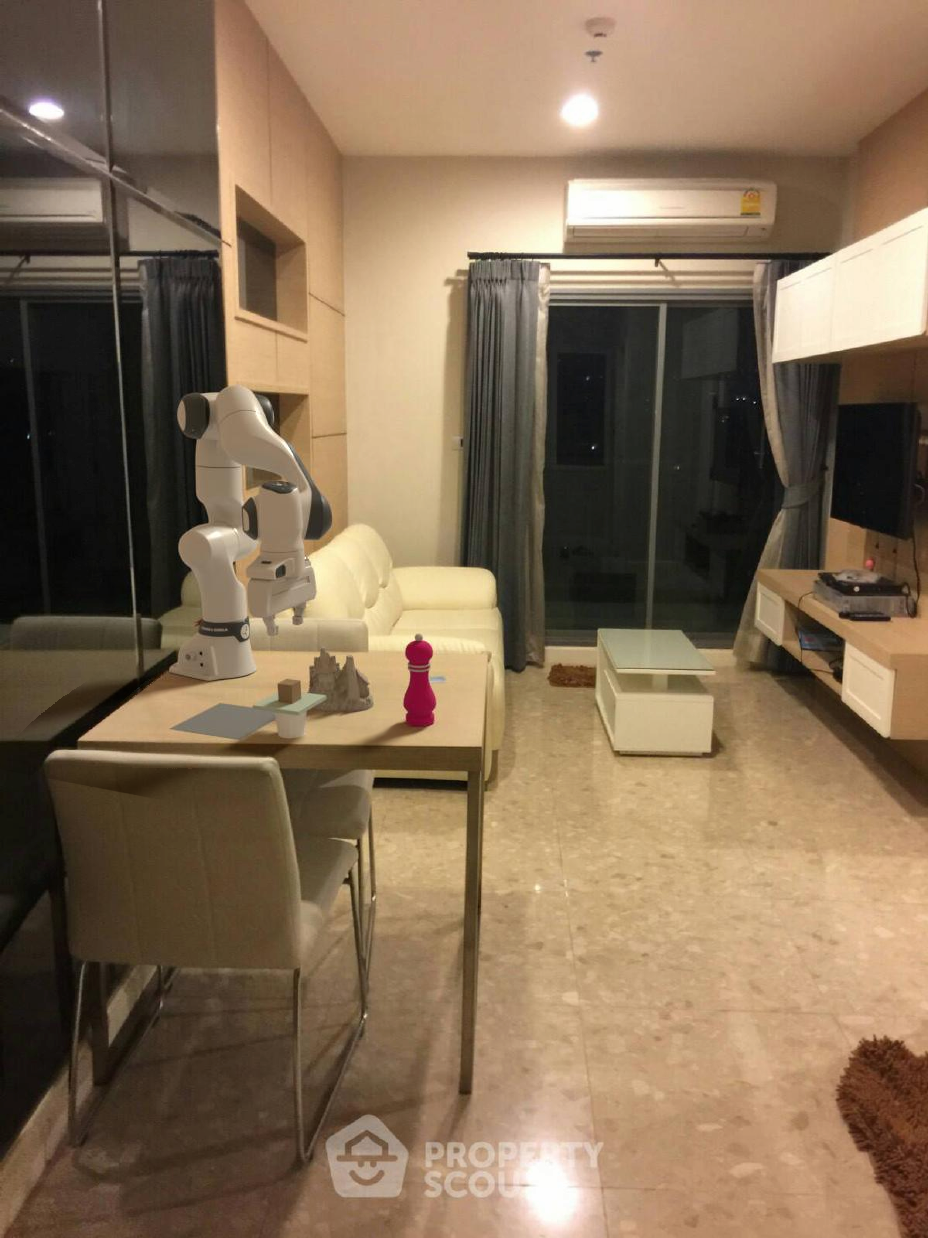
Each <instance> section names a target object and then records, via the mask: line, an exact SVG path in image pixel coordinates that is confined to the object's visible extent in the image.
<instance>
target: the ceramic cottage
mask: <svg viewBox="0 0 928 1238" xmlns="http://www.w3.org/2000/svg"><path fill="white" fill-rule="evenodd" d="M336 657H337V656H336V655H335V654H334V655H331V654H330V652H329V651H326V647H325V646H321V647H320V652H319V656H314V657H313V664H312V665H309V666H308V667H309V668H308V669H309V671H308V672H309V682H308V683H309V685H308V686H309V688H308V690H307V692H306V693H312V694H319V695H326V698H327V699H326V700H324V701H322V702H321V703H319V704H317V705H316V706H314V707H312V708H311V709H313V710H316V711H317V710H318V711H326V712H335V711H343V713H348V712H349V713H351V712H361V711H367V710H370V709H372V708H373V707H374V705H375V703H374V702H375V701H374V699H373V695H372V694H371V693H370V688H369V685H370V682H369V678H368V677H367V676H366V675H365V674H364V673H363V672H361V670H360V669H359V668H358V667H356V665H355V660H354V655H352V654H347V655H346V656H345V662H344V664H343V665H342V668H341V667H340V662H337V661H336V660H337V659H336Z"/></svg>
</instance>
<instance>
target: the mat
mask: <svg viewBox="0 0 928 1238" xmlns="http://www.w3.org/2000/svg"><path fill="white" fill-rule="evenodd" d="M274 721H276V717H275V712H270V711H264V710H257V709H253V706H245V705H238V704H237V705H236V704H232V703H231V704H229V703H224V702H223V703H222V702H219V703H218V704H216V705H213V706H211V707H210V708H208V709H206V710H204V711H201V712H199V713H198V714H195V715H194V716H191V717H189V718H187V719H186V720H183V721H182V722H179V723H178V724H176V725H174V726H171V727H170V728H169V730H175V731H180V732H181V731H182V732H185V733H186V732H187V733H193V734H201V735H206V736H211V737H213V736H214V737H218V738H226V739H232V740H239V741H241V740H244V738H246V737H248V736H249V735H251V734H253V733H255V732H256V731H257V732H258V730H259V729H261V728H263V727H266V726H268V724H270V723H272V722H274Z"/></svg>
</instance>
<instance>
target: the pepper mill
mask: <svg viewBox="0 0 928 1238" xmlns="http://www.w3.org/2000/svg"><path fill="white" fill-rule="evenodd" d="M404 656H405V658H406V660H408V662H407V670H408V671H409V681H408V686H407V689H406V691H405V693H404V696H403V703H402V704H403V705H402V706H403V708H404V710H406V712H407V713H406V714H405V723H406V724H407V725H408V726H411V727H416V728H417V727H418V728H419V727H421V728H422V727H423V728H425V727H428V726H431V725H433V724H434V723H435V713H434V712H433V711H435V709H436V707H437V698H436V695H435V692H434V691H433V688H432V686H431V682H430V675H429V672H430V670H431V669H432V667H431V664H432V663H431V661H430V660H432V658H433V656H434V651H433V646H432V645H431V644H430V643H429V642H428V641H426V640H424V636H423V635H422V634H421V633H415V635H414V640H412V641H410V642H409V643H408V644H407V645H406V647H405V651H404Z"/></svg>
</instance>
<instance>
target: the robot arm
mask: <svg viewBox="0 0 928 1238" xmlns="http://www.w3.org/2000/svg"><path fill="white" fill-rule="evenodd" d="M176 412H177V415H176V416H177V421H178V425H179V428H180V430H181V433H183V434H184V435H185V436H186V437H188V438H191V439H195V440H196V445H195V492H196V497H197V499H198V500H199V502H201V503H202V504H203V506H204V508H205V510H206V513H207V516H208V517H207V518H208V523H204V524H198V525H197V526H193V527H192V528H191V529H189V530H188V531H186V532H185V533H183V535H181V537H180V538H179V542H178V553H179V554H178V555H179V556H180V559H181V560H182V562H183V563H184V564H185V565H186V566H187V567H189V568H190V569H191V571H192V572H193V574H194V577H195V578H196V582H197V585H198V588H199V592H200V599H201V600H200V602H201V609H202V617H201V618H200V619H199V620H197V621H195V622H194V624H195V625H194V627H198V629H197V632H196V633H195V634H194V635H193V636H192V637H191V638H189V639H188V640H187V641H186V642H184V643H183V644H182V645H181V646H180V648H179V651H178V656H177V662H175V663H174V664H172V665H170V667H169V673H172V674H176V675H179V676H184V677H189V678H193V679H197V680H201V681H202V680H203V681H206V682H208V681H209V682H210V681H216V680H222V679H232V678H233V679H234V678H239V677H243V676H244V677H245V676H247V675H251V674H253V673H254V672H256V671H257V669H258V667H257V665H256V662H255V658H254V655H253V650H252V646H251V640H250V635H251V626H250V625H251V624H250V616H248V612H249V614H250V615H251V617H253V618H258V619H262V622H263V623H264V625H265V627H266V634H267V636H268V637H274V636H277V635H278V634H279V625H277V624H276V623H275V620H276V615H278V614H279V613H282V612H285V611H287V610H289V609H290V610H291V609H292V608H295V610H294V614H293V616H292V618H291V619H292V625H293V626H301V625H302V624H304V615H305V613H306V609H307V602H310V601H313V600H315V598H316V596H317V592H318V591H317V582H316V574H315V570H314V568H313V566H312V561H311V560H310V559H309V558H308V557H307V556H305V545H304V542H303V540H306V541H307V540H308V541H319V540H320V539H321V538H323V537H324V536H325V534H327V532H328V531H330V529H331V528H332V524H333V513H332V508H331V505H330V503H329V501H328V499H327V498H326V497H325V496H324V495H323V493H322V492H321V491H320V490H319V488H318V487H317V485H316V484H315V482H314V481H313V479H312V476H311V475H310V473H309V471H308V469H307V467H306V466H305V464H304V463H303V461H302V459H301V458H300V456H299V454H298V452H297V450H295V448H294V446H293V445H292V444H291V442H289V441H287V440H286V439H284V438H282V437H281V436H280V435H279V434H277V433H276V432H275V431H274V430H273V427H274V426H273V425H274V423H275V422H274V421H275V416H274V414H275V413H274V410H273V405H272V403H271V401H270V400H269V399H268V398H267V396H264V395H261V394H258V393H254V392H253V391H252V390H251V389H249V388H248V387H245V386H244V385H239V384H237V385H236V384H235V385H230V386H227V387H225V388H223V389H221V390H220V391H219V392H205V393H200V392H191V393H188V394H184V395H183V397H182V398H181V399H180V401H179V404H178V408H177V411H176ZM243 467H246V468H250V469H251V468H253V469H257V470H258V469H259V470H263V471H267V472H271V473H274V474H276V475H278V476H280V477H281V478H283V479H284V480H270V481H265V482H264V483H263V482H262V484H261V485H260V486H259V489H258V494H256V495H254V496H250V497H249V498H248V499H247V500H246V501H244V493H243ZM259 543H260V545H259ZM258 546H259V555H257V557H256V558H255V559H254V560H253V561H252V562H251V563H250V564H249V565H248V566H247V567H246V568H245V576H246V578H248V579H249V580H248V583H247V587H245V585H244V584H243V583H242V582H241V581H240V580H239V579H238V578H237V575H236V572H235V570H234V562H238V561H241V560H243V559H246V558H247V557H248V556H250V555H251V554H252V553H253V552H254V551H256V549H257V548H258ZM246 588H247V589H246Z"/></svg>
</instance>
